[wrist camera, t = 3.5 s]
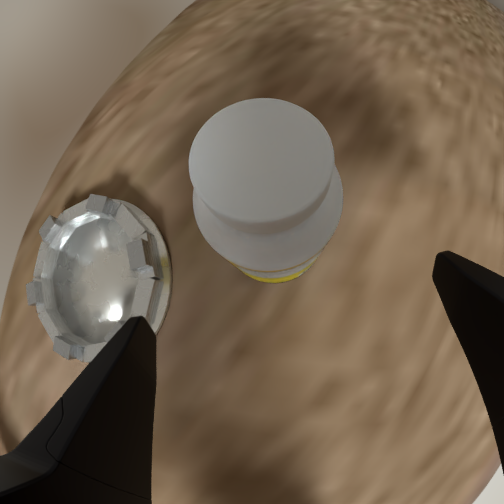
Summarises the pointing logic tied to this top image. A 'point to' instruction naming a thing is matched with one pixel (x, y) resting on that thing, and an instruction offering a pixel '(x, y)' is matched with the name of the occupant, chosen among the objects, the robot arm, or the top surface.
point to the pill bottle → (266, 187)
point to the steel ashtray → (99, 275)
